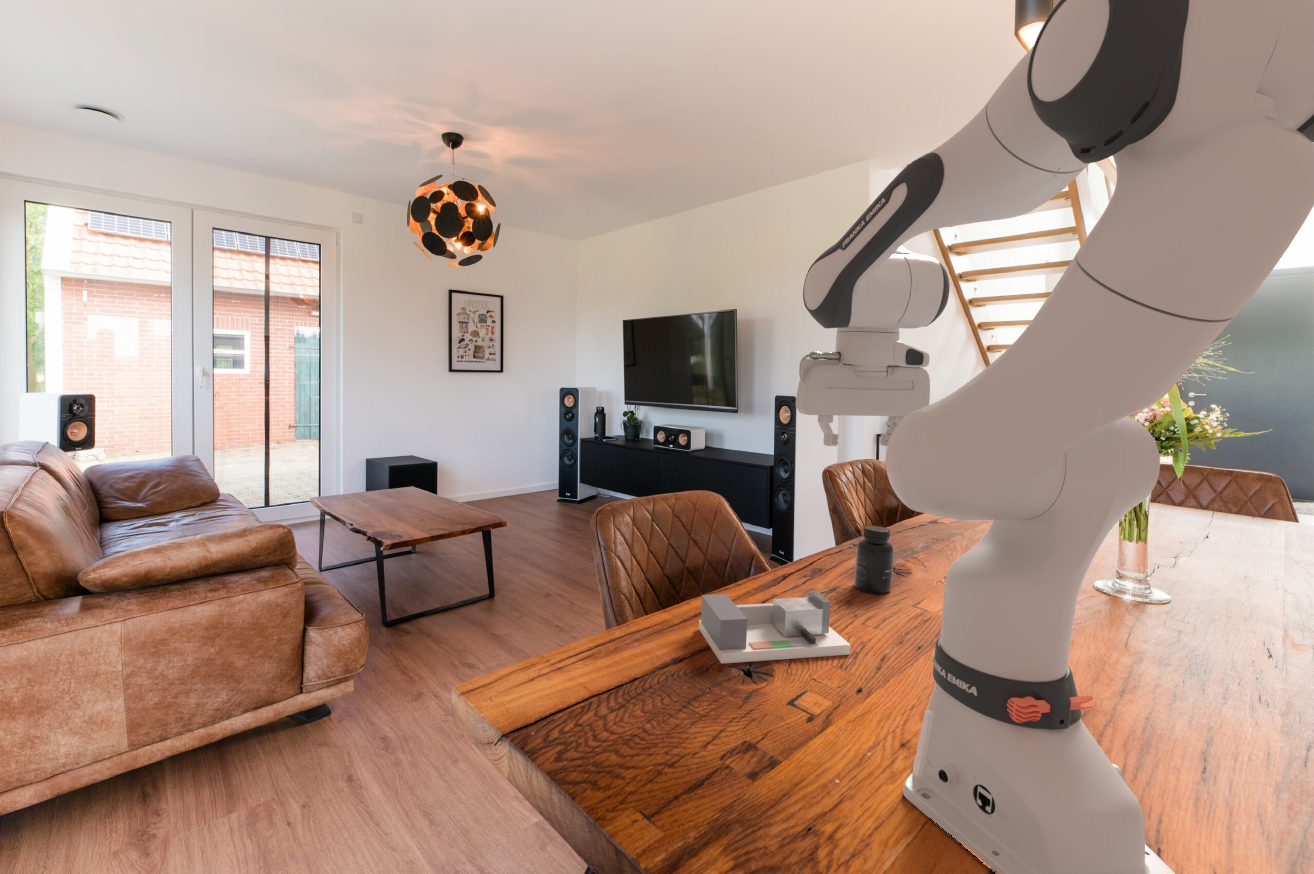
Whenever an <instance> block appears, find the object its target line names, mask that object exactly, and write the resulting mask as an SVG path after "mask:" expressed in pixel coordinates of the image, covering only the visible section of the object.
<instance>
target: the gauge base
mask: <svg viewBox="0 0 1314 874" xmlns="http://www.w3.org/2000/svg"><path fill="white" fill-rule="evenodd" d="M700 613H701V615H700V619H699V620H698V630H699V631H700V633H701V634H702V636H703V638H704V639H705V641H706V642H707V644H708V645H709V647H710V649H711V650H712V652H713V653H714V655H715V656H716V657H717V659H718V661H719V663H720V664H734V663H747V662H748V663H749V662H762V661H763V662H764V661H776V660H777V661H778V660H789V659H790V660H792V659H802V658H803V659H805V658H818V657H820V658H821V657H835V656H846V655H847V656H849V655H851V647H852V646H851V644H850V643H849V642H848V641H847V640H846V639H845V638H843V636H841V635H840V634H839V633H837V631H835V629H833V628H832V627H831V626H830V625H829V633H823V634H817V635H812V636H813V637H815V638H816V644H810V643H809V642H808V641H807V640H806V639H805V638H804V637H803V636H802V635H801V636H784V635H783V634H782V633H781V632H780V631H779V630H778V629H777V628H776V627H775V626H774V625H773V624H772V613H773V602H770V603H768V602H767V603H752V604H751V603H747V604H735V602H733V600H732V599H731V598H730V597H729V595H728V594H727V593H719V594H718V593H717V594H701V612H700Z"/></svg>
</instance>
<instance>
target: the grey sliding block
mask: <svg viewBox="0 0 1314 874" xmlns="http://www.w3.org/2000/svg"><path fill="white" fill-rule="evenodd" d="M772 603H773V613H772V624H773V625H774V626H775V627H776V628H777V629H778V630H779V631H780V632H781V633H782V634H783V635H784V636H801V635H802V636H803V637H804V638H805V639H806V640H807V641H808V642H809V643H810V644H816V638H815V637H813V636H812V635H817V634H823V633H829V626H830V619H831V618H830V616H831V601H830V600H829V599H828V598H826V597H825V596H824V595H823V594H822V593H820V592H819V591H817V589H815V590H814V589H813V590H811V589H809V590H808V596H805V597H803V596H802V597H786V598H785V597H784V598H773V599H772Z"/></svg>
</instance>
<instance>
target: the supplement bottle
mask: <svg viewBox="0 0 1314 874" xmlns="http://www.w3.org/2000/svg"><path fill="white" fill-rule="evenodd" d="M890 532H891V531H890V529H889V528H887V527H884V526H877V525H866V526H864V527H863V533H862V538H863V539H861V540H859V541H858V543H857V544H856V545H857V546H856V555H855V556H856V558H855V567H854V568H855V572H854V586H855V587H856V589H858V590H860V591H862V592H865V593H868V594H875V595H876V594H878V595H879V594H888V593H889V592H890V591H891V588H892V581H893V580H892V579H893V568H894V567H893V566H894V558H895V557H894V555H895V554H894V552H895V548H894V546H893V545H892V544H891V542H889V541H890V539H891V538H890V535H891V533H890Z"/></svg>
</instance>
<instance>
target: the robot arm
mask: <svg viewBox="0 0 1314 874" xmlns="http://www.w3.org/2000/svg"><path fill="white" fill-rule="evenodd" d="M1035 40H1036V41H1035V42H1034V44H1033V46H1031V48H1030V49H1029V50H1028V51H1027V52H1026V53H1025V55H1024V56H1023V57H1021V59H1020V60H1019V62H1018V63H1016V64H1015V66H1014V67H1013V69H1011V71H1010V72H1009V73H1008V75H1006V77H1005V78H1004V79H1003V80H1002V82H1001V84H1000V85H999V86H998V87H997V88H996V90H995V91H994V93H993V94H992V95H991V97H990V99H988V100H987V102H986V104H984V106H983V107H982V108H981V109H980V111H978V112H977V114H976V115H975V116H974V117H973V118H972V119H971V120H970V121H969V122H968V123H966V124H965V125H964V126H963V127H962V128H961V129H959V131H957V132H956V133H955V134H954V135H953V136H951V137H950V138H948V139H947V140H946V141H944V142H943V143H941V144H940V145H939V146H937V147H936V148H934V149H933V150H932V151H929V152H928V153H925V154H923V155H922V156H920V157H918V158H916V159H914V160H913V161H911V162H910V163H909V164H908V165H906V166H905V167H904V168H903V169H902V170H901V171H900V172H899V173H898V174H897V175H896V176H895V177H893V179H892V181H891V182H889V183H888V184H887V186H886V187H885V188H884V189H883V191H882V192H880V194H878V196H877V197H876V198H875V199H874V201H872V203H870V205H869V206H868V207H867V209H865V211H864V212H862V214H861V215H860V216H859V218H857V220H856V221H855V222H854V223H853V224H852V225H851V226H850V227H849V229H848V230H847V231H846V232H845V234H844V235H842V237H841V238H840V239H839V240H838V241H837V242H836V243H834V244H833V245H832V246H830V247H829V248H827V249H826V250H825V251H824V252H823V253H821V254H820V255H819V256H818V257H817V258H816V259H815V260H814V261H813V263H812V264H811V265H810V267H809V269H808V271H807V273H806V275H805V278H804V281H803V282H804V283H803V291H802V298H803V299H802V300H803V304H804V307H805V309H806V310H807V312H808V313H809V314H810V316H811V317H812V318H813V319H814V320H815V321H816V322H817V323H818V324H819V325H820V326H821V327H823V328H824V329H836V335H835V336H836V338H835V351H826V352H825V351H824V352H821V351H811V352H809V353H808V354H806V355H804V356H803V357H802V358H801V360H800V361H799V369H798V374H799V382H798V385H797V390H796V396H795V397H796V398H795V408H796V410H797V411H798V412H799V413H800V414H802V415H806V416H817V423H818V425H819V427H820V429H821V431H822V433H823V445H824V446H826V447H827V446H828V447H837V446H838V445H839V441H838V440H839V434H838V433H834V431H833V429H832V427H831V423H833V421H834V416H843V417H844V416H851V417H852V416H853V417H854V416H857V417H858V416H859V417H860V416H861V417H865V416H866V417H888V420H887V421H888V423H890V424H889V426H888V428H887V430H886V432H885V433H884V432H883V433H880V441H879V442H880V445H881V446H884V447H886V451H885V459H884V460H885V470H886V475H887V478H888V481H889V484H890V486H891V488H892V490H893V491H894V493H895V494H896V496H897V498H898V499H899V500H900V501H901V502H902V504H904V505H905V506H906V507H907V508H908V509H910V510H912V511H915V512H918V513H923V514H928V515H932V516H937V517H942V518H945V519H946V518H947V519H953V520H957V521H992V522H991V525H990V527H989V528H988V530H987V531H986V533H985V534H984V536H983V537H982V538H981V539H980V540H979V542H978V543H977V544H976V545H974V546H973V547H972V548H970V549H969V550H967V551H966V552H965V553H962V554H961V555H960V556H959V557H958V558H956V559H955V560H954V561H953V562H952V563H951V564H950V566H949V568H948V571H947V572H946V575H945V579H944V591H943V604H942V617H941V618H942V619H941V627H940V629H941V630H940V637H939V638H938V639H937V640H936V642H935V646H934V647H935V649H934V652H933V656H932V664H933V668H932V676H933V677H932V678H933V680H934V681H935V683H934V684H935V685H934V689H933V692H932V694H931V697H930V699H929V701H928V702H929V703H928V704H927V707H926V708H925V711H924V714H923V717H922V718H923V719H922V722H921V728H920V732H919V738H918V742H917V747H916V749H917V750H916V754H915V758H914V760H913V762H912V763H913V764H912V772H911V773H910V774H909V775H908V777H907V778H906V779H905V781H904V783H903V789H902V794H903V796H904V797H905V798H906V800H907V801H909V802H910V803H911V804H912V805H913V806H915V807H916V808H917V809H918V810H919V811H920V812H921V813H923V814H924V815H925V816H927V817H928V818H929V819H930V818H931V819H932V820H933V821H935V822H934V823H935V824H936V823H937V824H938V825H939V826H940V827H939V826H938V825H937V824H936V825H937V826H938V827H939V828H941V827H942V828H943V829H944V830H945V831H946V832H947V833H946V832H945V831H944V830H943V829H942V828H941V829H942V830H943V831H944V832H945V833H946V834H948V833H949V834H950V835H952V836H953V837H954V838H955V839H957V840H958V841H960V842H962V843H963V844H964V845H965V846H967V848H969V849H971V851H972V852H973V853H975V854H976V855H977V856H978V857H979V858H981V860H983V862H985V863H986V864H987V865H988V866H990V867H991V868H993V869H995V871H997V872H999V873H1001V874H1176V873H1175V871H1173V870H1172V869H1171V868H1170V867H1169V866H1168V864H1166V862H1164V861H1163V859H1162V858H1161V857H1159V856H1158V855H1157V854H1156V853H1155V852H1154V851H1153V850H1152V849H1151V848H1150V847H1149V846H1148V845H1147V844H1146V834H1145V832H1146V831H1145V830H1146V829H1145V821H1144V815H1143V810H1142V806H1141V804H1140V802H1139V800H1138V798H1137V796H1136V795H1135V794H1134V793H1133V791H1132V790H1131V788H1130V787H1129V786H1128V784H1127V783H1126V778H1125V776H1124V773H1123V771H1122V770H1121V768H1120V767H1119V766H1118V765H1117V764H1115V763H1113V762H1111V761H1110V759H1109V758H1108V756H1107V755H1106V754H1105V752H1104V751H1103V749H1102V748H1101V747H1100V745H1099V744H1098V741H1096V740H1095V737H1094V736H1093V735H1092V733H1091V732H1090V731H1089V729H1088V728H1087V726H1086V725H1085V724H1084V722H1083V720H1082V719H1081V718H1082V710H1086V709H1092V708H1093V705H1091V704H1086V703H1088V702H1090V701H1092V700H1094V696H1093V695H1083V696H1082V695H1081V696H1078V692H1077V688H1076V684H1075V679H1074V675H1073V672H1072V669H1071V668H1070V666H1069V665H1068V664H1069V657H1070V651H1071V650H1070V649H1071V641H1072V633H1073V627H1074V619H1075V614H1076V607H1077V602H1078V597H1079V594H1080V591H1081V587H1082V584H1083V583H1084V582H1083V581H1084V579H1085V577H1086V575H1087V572H1088V570H1089V568H1090V566H1091V564H1092V562H1093V560H1094V558H1095V556H1096V554H1097V553H1098V551H1099V549H1100V547H1101V546H1102V544H1103V542H1104V540H1105V539H1106V537H1107V536H1108V535H1109V533H1110V532H1111V530H1112V529H1113V528H1114V526H1115V525H1116V524H1117V523H1118V522H1119V521H1120V520H1121V519H1122V518H1123V517H1124V516H1125V515H1126V514H1127V513H1128V512H1130V511H1131V510H1132V509H1134V508H1135V507H1136V506H1138V505H1140V503H1142V502H1144V500H1146V498H1148V497H1149V496H1150V494H1151V493H1152V491H1153V490H1154V488H1155V487H1156V484H1157V482H1158V479H1159V476H1160V470H1161V457H1160V452H1159V448H1158V445H1157V442H1156V440H1155V439H1154V437H1153V435H1152V434H1151V433H1150V431H1149V430H1148V429H1147V428H1146V427H1145V426H1144V425H1143V424H1141V423H1140V422H1138V421H1137V420H1135V419H1134V418H1131V417H1130V416H1132V415H1134V414H1137V413H1140V412H1142V411H1144V410H1145V409H1148V408H1149V407H1151V406H1152V405H1154V404H1155V403H1157V402H1159V401H1160V400H1161V399H1163V397H1165V396H1166V395H1167V394H1168V393H1169V392H1170V390H1172V388H1173V387H1174V386H1175V385H1176V384H1177V383H1178V382H1179V381H1180V379H1181V378H1182V377H1183V376H1184V375H1185V374H1186V373H1187V372H1188V371H1189V369H1190V368H1191V367H1192V366H1193V365H1194V363H1195V362H1197V360H1198V359H1199V358H1200V357H1201V356H1202V354H1203V353H1204V352H1205V351H1206V350H1207V348H1209V347H1210V345H1211V344H1212V343H1213V342H1214V341H1215V340H1216V339H1217V337H1218V336H1219V335H1220V334H1221V333H1222V332H1223V331H1224V330H1225V329H1226V327H1227V326H1228V325H1229V324H1230V323H1231V322H1232V321H1233V319H1234V318H1235V317H1236V316H1237V315H1238V313H1239V312H1241V310H1242V309H1243V308H1244V307H1245V306H1246V304H1247V303H1248V302H1249V300H1250V299H1251V298H1252V297H1253V296H1254V295H1255V294H1256V292H1257V291H1258V290H1259V288H1261V285H1263V283H1264V282H1265V280H1266V279H1267V277H1269V275H1270V274H1271V273H1272V271H1273V270H1274V268H1275V267H1276V265H1277V264H1278V263H1279V261H1280V260H1281V259H1282V257H1283V256H1284V254H1285V253H1286V251H1287V250H1288V248H1289V247H1290V245H1291V244H1292V242H1293V240H1294V239H1295V238H1296V236H1297V234H1298V233H1299V231H1300V229H1302V226H1303V224H1305V222H1306V220H1307V218H1308V216H1309V214H1310V213H1311V211H1312V210H1313V208H1314V0H1059V1H1058V3H1057V4H1056V5H1055V6H1054V7H1053V9H1052V10H1051V12H1050V13H1049V15H1048V17H1047V18H1046V20H1045V21H1044V23H1043V25H1042V27H1041V29H1040V31H1039V32H1038V35H1037V37H1036V39H1035ZM1111 157H1113V160H1114V164H1115V170H1116V183H1115V187H1114V191H1113V193H1112V196H1111V198H1110V201H1109V202H1108V204H1107V206H1106V208H1105V209H1104V211H1103V214H1102V215H1101V216H1100V218H1099V219H1098V220H1097V222H1096V224H1095V225H1094V226H1093V227H1092V230H1091V231H1090V232H1089V234H1088V235H1087V237H1086V238H1085V240H1084V241H1083V243H1082V245H1080V247H1079V249H1078V251H1077V252H1076V254H1075V255H1074V257H1073V259H1072V260H1071V262H1069V265H1068V267H1067V268H1066V269H1065V271H1064V272H1063V274H1062V275H1061V277H1060V279H1058V281H1057V283H1056V285H1055V287H1054V288H1053V289H1052V291H1051V292H1050V293H1049V295H1048V296H1047V298H1046V299H1045V301H1044V302H1043V304H1042V305H1041V307H1040V308H1039V310H1038V311H1037V313H1036V314H1035V316H1034V317H1033V319H1032V320H1031V321H1030V323H1029V324H1028V326H1027V327H1026V328H1025V330H1024V331H1023V332H1022V333H1021V335H1020V336H1018V338H1016V340H1014V342H1013V343H1012V344H1011V345H1010V346H1009V347H1008V348H1007V349H1006V350H1005V351H1004V352H1003V353H1001V355H999V356H998V357H997V358H996V359H995V360H994V361H992V362H991V364H989V365H988V366H987V367H985V369H983V370H982V371H981V372H980V373H978V374H977V375H976V376H974V377H973V378H972V379H970V380H969V381H967V382H966V383H965V384H964V385H962V386H961V387H959V388H958V389H956V390H955V391H954V392H951V394H949V395H947V396H945V397H943V398H941V399H939V400H938V401H935V402H934V403H931V404H930V397H931V379H930V374H929V372H928V371H927V370H926V369H925V368H926V367H928V366H929V365H930V358H931V357H930V354H929V353H928V352H927V351H924V350H921V349H920V348H916V347H915V346H911V345H909V344H907V343H905V342H903V341H900V330H899V329H909V330H910V329H918V328H923V327H924V328H925V327H928V326H929V325H931V324H933V323H934V322H935V321H936V320H937V319H938V318H939V317H940V316H941V315H942V313H943V312H944V310H945V309H946V306H947V305H948V301H949V297H950V278H949V276H948V272H947V270H946V268H945V266H944V265H943V263H942V262H941V261H940V260H939V259H937V258H936V257H932V256H928V255H924V254H921V253H916V252H913V251H910V250H909V249H906V248H905V247H904V244H905V243H906V242H909V240H911V239H913V238H915V237H917V236H919V235H921V234H924V233H928V232H930V231H934V230H938V229H943V228H948V227H952V226H953V227H954V226H957V225H964V224H974V223H982V222H992V221H999V220H1008V219H1013V218H1016V217H1019V216H1022V215H1025V214H1028V213H1030V212H1032V211H1034V210H1035V209H1037V208H1039V207H1041V206H1042V205H1043V204H1045V203H1047V202H1048V201H1050V200H1052V198H1055V196H1057V195H1058V194H1060V193H1061V192H1062V191H1063V190H1064V189H1066V188H1067V187H1068V186H1069V185H1071V183H1073V181H1074V180H1075V179H1076V178H1077V177H1078V176H1079V175H1080V174H1081V173H1082V172H1083V171H1084V170H1085V169H1086V168H1087V167H1088V166H1089V165H1090V164H1092V163H1098V162H1101V161H1103V160H1107V159H1108V158H1111ZM931 819H930V820H931ZM932 820H931V821H932ZM933 821H932V822H933ZM949 834H948V835H949ZM950 835H949V836H950ZM955 839H954V840H955Z"/></svg>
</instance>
